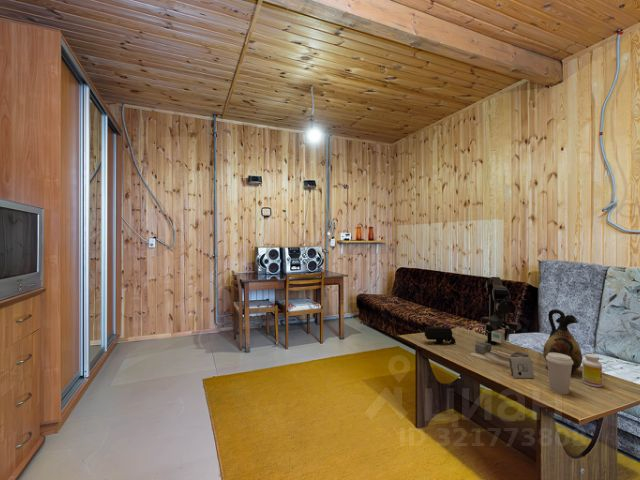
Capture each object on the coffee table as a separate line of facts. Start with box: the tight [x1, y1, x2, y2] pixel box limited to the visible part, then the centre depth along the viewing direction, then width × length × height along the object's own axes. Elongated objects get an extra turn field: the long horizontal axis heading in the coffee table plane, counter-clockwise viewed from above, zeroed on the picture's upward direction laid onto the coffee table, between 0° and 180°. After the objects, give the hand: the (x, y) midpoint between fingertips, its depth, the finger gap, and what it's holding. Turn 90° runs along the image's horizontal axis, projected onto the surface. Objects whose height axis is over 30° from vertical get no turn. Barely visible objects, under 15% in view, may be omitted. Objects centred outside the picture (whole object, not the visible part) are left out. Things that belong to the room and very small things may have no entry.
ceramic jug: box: [542, 308, 583, 375], centre depth 155 cm, size 17×15×30 cm
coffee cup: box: [546, 353, 574, 395], centre depth 133 cm, size 10×10×15 cm
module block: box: [492, 329, 510, 344], centre depth 169 cm, size 8×5×5 cm, turn 120°
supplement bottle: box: [581, 353, 603, 388], centre depth 140 cm, size 7×7×13 cm
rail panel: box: [469, 341, 533, 369], centre depth 169 cm, size 18×24×6 cm
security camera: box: [424, 326, 457, 345], centre depth 194 cm, size 7×18×10 cm, turn 89°
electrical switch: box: [509, 356, 535, 379], centre depth 148 cm, size 9×5×9 cm, turn 90°
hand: (500, 338), depth 169 cm, fingers closed on module block, 5 cm apart
